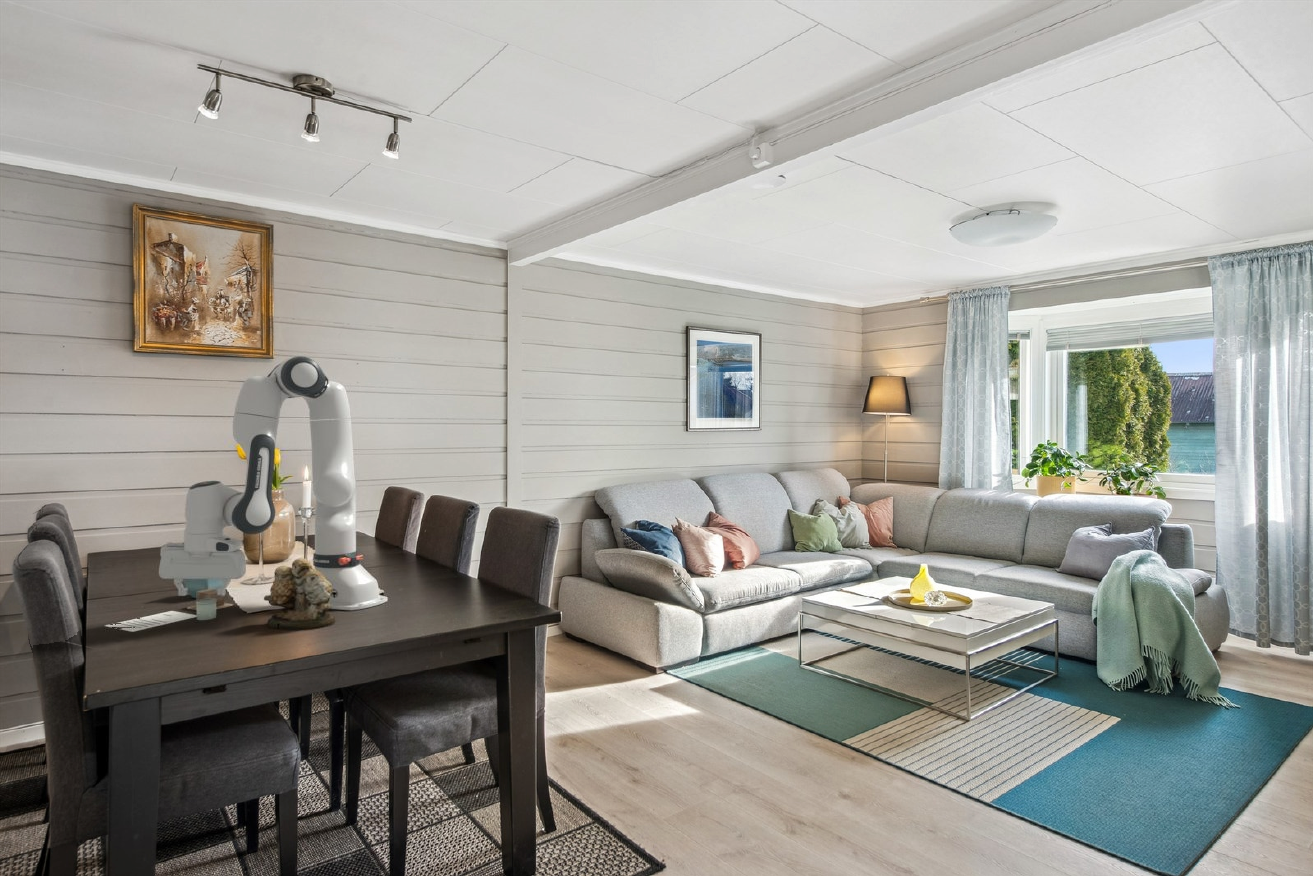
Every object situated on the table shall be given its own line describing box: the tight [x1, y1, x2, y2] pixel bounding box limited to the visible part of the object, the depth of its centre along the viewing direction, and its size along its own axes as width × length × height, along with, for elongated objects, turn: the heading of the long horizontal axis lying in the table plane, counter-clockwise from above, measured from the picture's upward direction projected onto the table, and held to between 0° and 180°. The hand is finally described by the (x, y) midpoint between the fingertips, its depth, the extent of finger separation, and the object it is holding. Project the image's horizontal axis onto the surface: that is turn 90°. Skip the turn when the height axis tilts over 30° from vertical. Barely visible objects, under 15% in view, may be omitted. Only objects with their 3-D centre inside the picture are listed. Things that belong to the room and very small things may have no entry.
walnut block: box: [195, 589, 225, 607], centre depth 212 cm, size 6×4×4 cm, turn 64°
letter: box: [104, 610, 197, 632], centre depth 197 cm, size 12×17×1 cm
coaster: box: [186, 602, 234, 611], centre depth 212 cm, size 8×8×1 cm
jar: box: [195, 598, 217, 621], centre depth 200 cm, size 5×5×5 cm
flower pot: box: [183, 579, 224, 599], centre depth 225 cm, size 9×9×9 cm
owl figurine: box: [263, 557, 336, 631], centre depth 196 cm, size 18×12×17 cm, turn 87°
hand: (202, 595), depth 200 cm, fingers open, 8 cm apart
